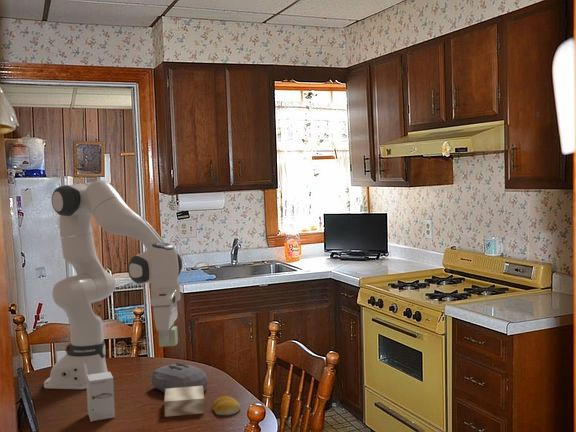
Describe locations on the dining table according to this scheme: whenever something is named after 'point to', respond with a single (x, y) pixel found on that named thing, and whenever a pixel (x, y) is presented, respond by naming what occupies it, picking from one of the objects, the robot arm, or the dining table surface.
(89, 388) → the supplement box
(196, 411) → the wooden block
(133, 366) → the dining table surface
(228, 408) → the bread roll
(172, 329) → the sage cube
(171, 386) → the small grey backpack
